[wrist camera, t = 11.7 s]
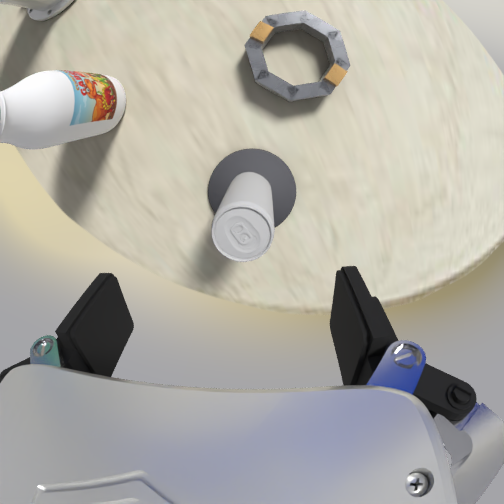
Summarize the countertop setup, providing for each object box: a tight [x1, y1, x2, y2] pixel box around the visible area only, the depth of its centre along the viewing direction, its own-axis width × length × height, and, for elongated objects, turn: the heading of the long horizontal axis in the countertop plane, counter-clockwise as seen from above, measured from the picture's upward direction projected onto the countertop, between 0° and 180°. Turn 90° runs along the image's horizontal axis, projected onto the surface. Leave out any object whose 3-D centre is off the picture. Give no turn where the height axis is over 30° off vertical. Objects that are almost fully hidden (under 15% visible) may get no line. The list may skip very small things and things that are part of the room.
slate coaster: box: [208, 149, 296, 227], centre depth 32 cm, size 10×10×1 cm
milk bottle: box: [0, 71, 126, 149], centre depth 18 cm, size 8×8×20 cm
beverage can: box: [212, 172, 275, 262], centre depth 26 cm, size 5×5×12 cm
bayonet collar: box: [245, 11, 350, 102], centre depth 23 cm, size 10×10×3 cm
